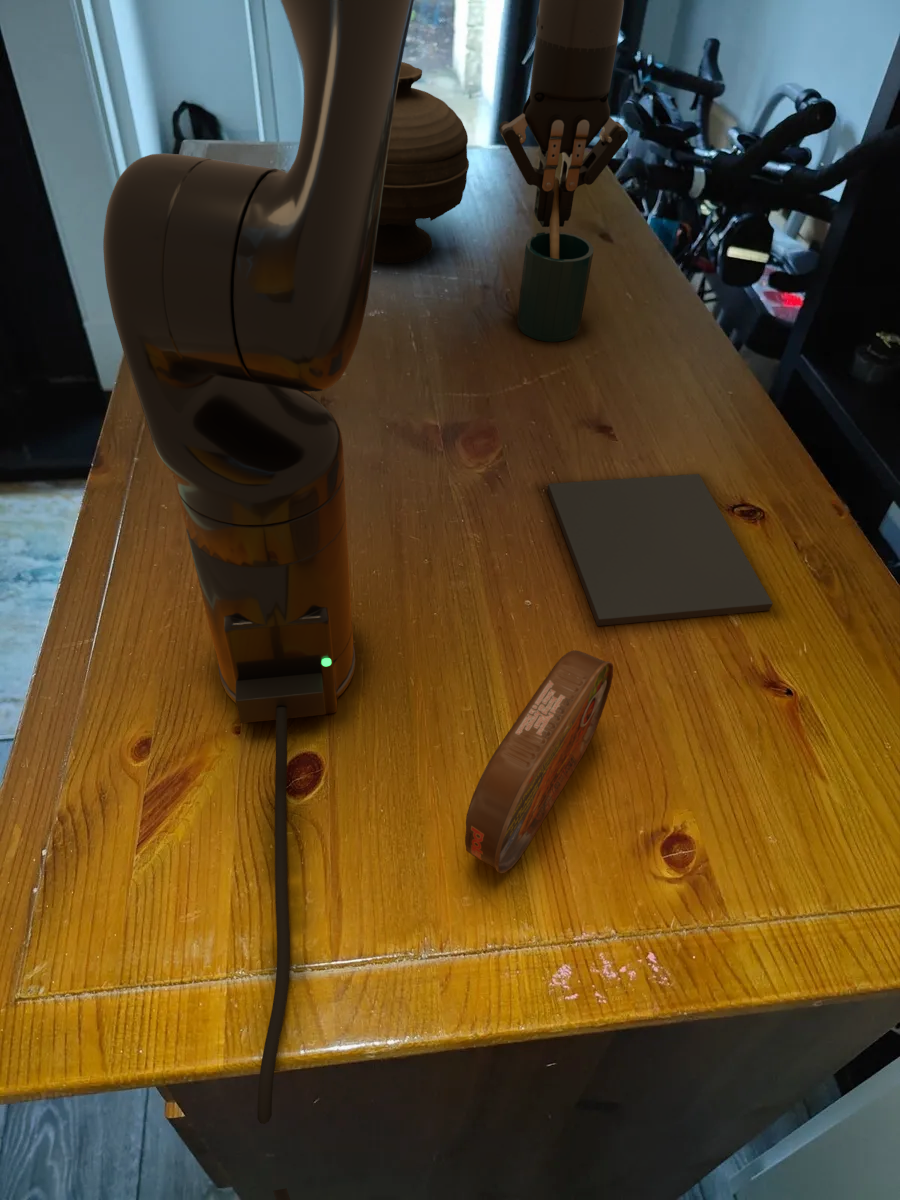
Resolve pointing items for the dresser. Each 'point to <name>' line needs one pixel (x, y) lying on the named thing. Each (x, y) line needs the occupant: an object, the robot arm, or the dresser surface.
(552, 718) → the tin
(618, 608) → the mat
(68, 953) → the dresser surface
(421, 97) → the pot
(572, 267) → the cup
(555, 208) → the stirring stick
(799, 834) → the dresser surface
